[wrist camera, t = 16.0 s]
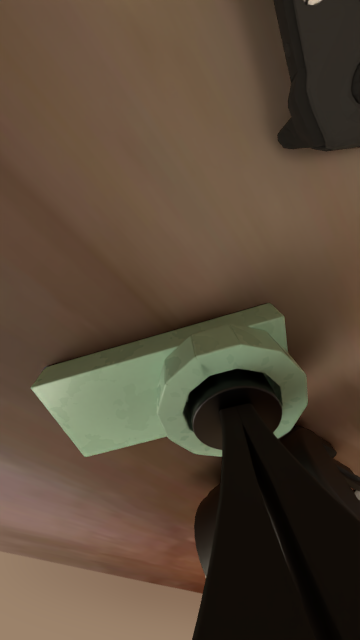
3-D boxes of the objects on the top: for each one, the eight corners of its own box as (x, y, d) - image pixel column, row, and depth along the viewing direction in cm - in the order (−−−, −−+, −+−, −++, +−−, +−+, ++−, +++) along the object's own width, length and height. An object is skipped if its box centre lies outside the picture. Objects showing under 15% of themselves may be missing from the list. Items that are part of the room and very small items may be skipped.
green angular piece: (95, 437, 16) (78, 494, 13) (40, 360, 13) (2, 410, 10) (280, 389, 15) (311, 437, 12) (269, 294, 12) (305, 326, 9)
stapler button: (199, 428, 13) (204, 459, 11) (178, 373, 11) (180, 401, 9) (271, 409, 12) (286, 439, 11) (261, 350, 11) (278, 375, 9)
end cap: (280, 404, 16) (351, 528, 10) (339, 442, 18) (427, 562, 12) (187, 479, 19) (198, 607, 13) (248, 503, 21) (281, 622, 15)
